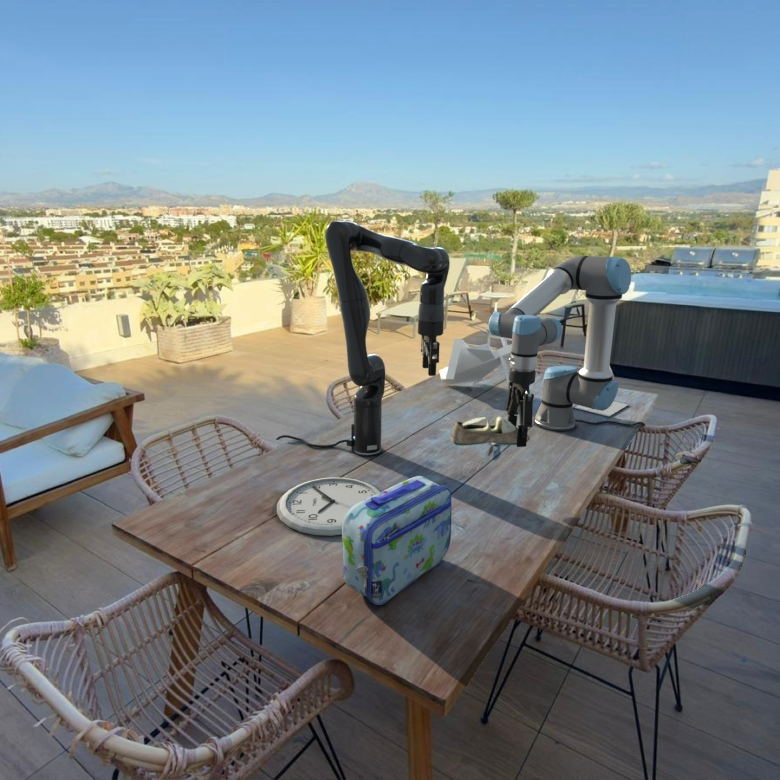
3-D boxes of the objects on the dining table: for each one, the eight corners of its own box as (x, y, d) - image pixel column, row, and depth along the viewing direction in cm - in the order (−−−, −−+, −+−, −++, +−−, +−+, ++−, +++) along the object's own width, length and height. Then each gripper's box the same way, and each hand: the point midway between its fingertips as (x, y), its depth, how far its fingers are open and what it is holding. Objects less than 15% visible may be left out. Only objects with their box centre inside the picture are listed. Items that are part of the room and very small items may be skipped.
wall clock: (392, 527, 129) (268, 531, 127) (391, 533, 130) (269, 537, 127) (383, 473, 158) (282, 475, 155) (383, 478, 158) (282, 480, 156)
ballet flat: (534, 446, 157) (537, 421, 154) (455, 450, 153) (456, 424, 151) (523, 436, 164) (526, 411, 162) (447, 439, 161) (449, 414, 158)
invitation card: (608, 416, 214) (573, 407, 224) (608, 416, 214) (573, 408, 224) (628, 404, 229) (594, 396, 238) (628, 405, 229) (594, 397, 238)
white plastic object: (461, 429, 252) (437, 405, 227) (444, 352, 274) (420, 323, 250) (535, 404, 240) (518, 377, 215) (510, 326, 262) (492, 293, 237)
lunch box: (371, 618, 102) (371, 524, 95) (336, 591, 109) (334, 502, 103) (455, 562, 119) (460, 479, 113) (420, 542, 126) (423, 463, 120)
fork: (484, 456, 175) (484, 450, 174) (492, 439, 189) (492, 434, 188) (491, 457, 174) (492, 452, 173) (499, 440, 188) (499, 435, 188)
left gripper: (413, 314, 159) (412, 366, 164) (423, 322, 146) (421, 378, 150) (438, 314, 160) (435, 365, 165) (449, 322, 147) (446, 378, 152)
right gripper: (498, 360, 162) (493, 428, 169) (524, 379, 143) (516, 455, 149) (521, 359, 163) (515, 427, 170) (550, 378, 144) (541, 454, 150)
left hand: (428, 371), depth 158 cm, fingers open, 8 cm apart
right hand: (516, 440), depth 160 cm, fingers closed on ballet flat, 8 cm apart
